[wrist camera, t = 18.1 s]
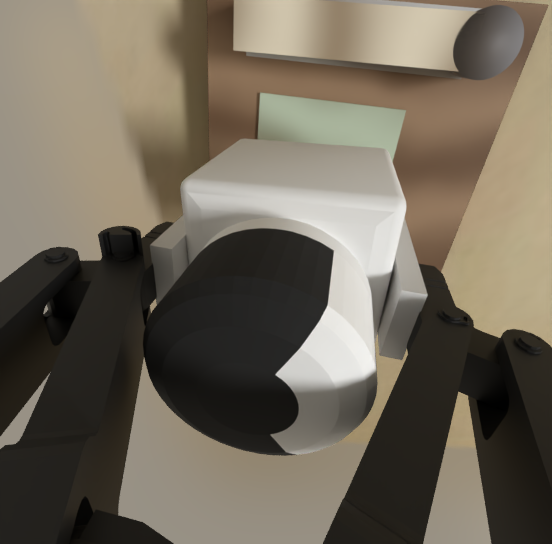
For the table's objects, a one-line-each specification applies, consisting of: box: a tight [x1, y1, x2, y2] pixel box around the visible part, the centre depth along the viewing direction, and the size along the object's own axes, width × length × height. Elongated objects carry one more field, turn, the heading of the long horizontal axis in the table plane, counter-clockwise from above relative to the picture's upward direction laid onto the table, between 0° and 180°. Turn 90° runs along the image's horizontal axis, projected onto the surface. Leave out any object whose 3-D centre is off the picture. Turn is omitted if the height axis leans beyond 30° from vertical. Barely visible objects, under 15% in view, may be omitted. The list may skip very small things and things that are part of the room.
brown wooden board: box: [207, 0, 548, 272], centre depth 24 cm, size 16×18×2 cm
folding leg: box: [233, 0, 524, 80], centre depth 18 cm, size 14×3×2 cm, turn 85°
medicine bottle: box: [143, 139, 406, 455], centre depth 13 cm, size 7×7×12 cm
